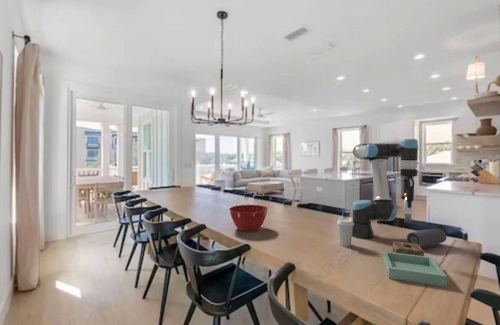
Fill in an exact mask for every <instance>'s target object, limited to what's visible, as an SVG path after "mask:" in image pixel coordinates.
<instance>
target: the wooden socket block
mask: <svg viewBox="0 0 500 325" xmlns="http://www.w3.org/2000/svg"><path fill="white" fill-rule="evenodd" d="M392 252H393V253H401V254H410V255H418V256H425V250H423V248H421V247H420V246H419V244H415V243H408V242H406V241H405V242H404V241H403V242H402V241H398V240H397V241H395V240H392Z"/></svg>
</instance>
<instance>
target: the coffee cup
mask: <svg viewBox="0 0 500 325" xmlns="http://www.w3.org/2000/svg"><path fill="white" fill-rule="evenodd" d="M353 225H354V223H353V221H352V219H350V218H339V219H338V220H337V230H338V241H339V245H340V246H342V247H347V248H349V247H352V240H353V238H352V237H353V236H352V230H353Z"/></svg>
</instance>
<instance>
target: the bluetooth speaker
mask: <svg viewBox="0 0 500 325" xmlns="http://www.w3.org/2000/svg"><path fill="white" fill-rule="evenodd" d="M406 241H407V243H415V244H419V246H420V247H421V248H422V249H426V248H432V247H434V246H435V245H438V244H442V243H444V242H446V241H447V234H446V232H445V230H443V229H440V228H426V229H419V230H415V231H412V232H409V233H408V234H407V235H406Z"/></svg>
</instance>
